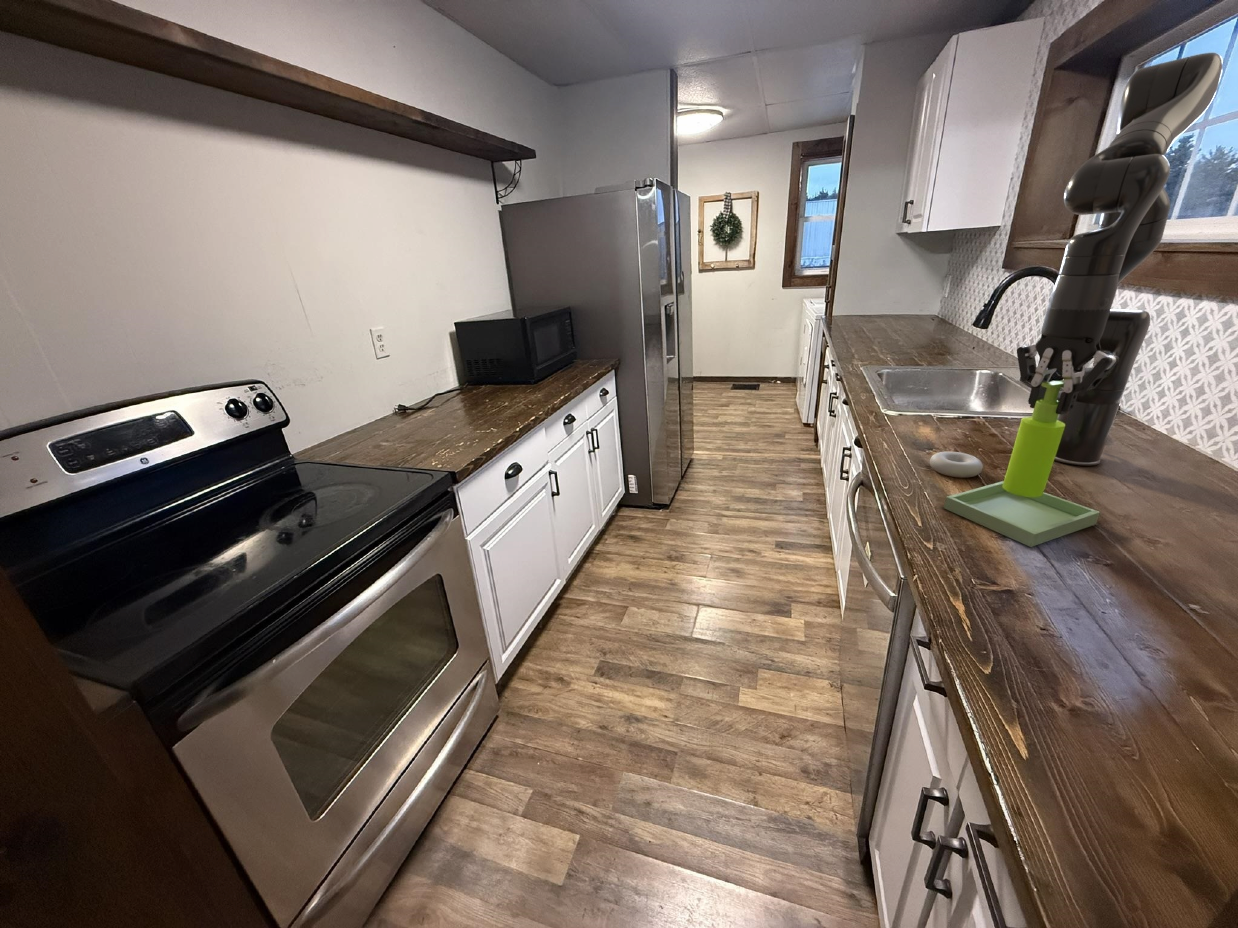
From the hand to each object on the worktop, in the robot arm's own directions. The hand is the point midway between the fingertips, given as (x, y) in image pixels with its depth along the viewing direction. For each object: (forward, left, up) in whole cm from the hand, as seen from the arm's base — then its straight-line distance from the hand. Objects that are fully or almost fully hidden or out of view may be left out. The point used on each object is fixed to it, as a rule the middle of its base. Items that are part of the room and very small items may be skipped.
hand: (1048, 409), depth 84 cm
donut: (-9, -19, -21) cm, 29 cm away
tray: (0, 0, -20) cm, 20 cm away
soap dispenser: (0, 0, -15) cm, 15 cm away
